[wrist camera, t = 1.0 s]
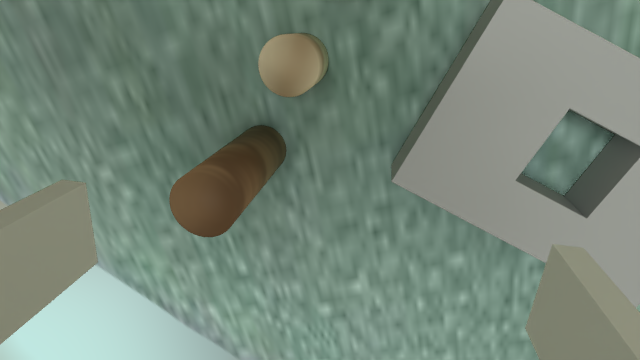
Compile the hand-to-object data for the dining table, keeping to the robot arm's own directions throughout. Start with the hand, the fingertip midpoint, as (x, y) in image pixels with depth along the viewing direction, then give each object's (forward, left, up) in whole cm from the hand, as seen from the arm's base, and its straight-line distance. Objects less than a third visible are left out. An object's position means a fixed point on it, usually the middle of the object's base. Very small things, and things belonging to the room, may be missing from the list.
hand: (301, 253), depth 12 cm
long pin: (-6, -7, -22) cm, 24 cm away
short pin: (-6, +1, -22) cm, 23 cm away
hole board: (+14, +4, -22) cm, 27 cm away
